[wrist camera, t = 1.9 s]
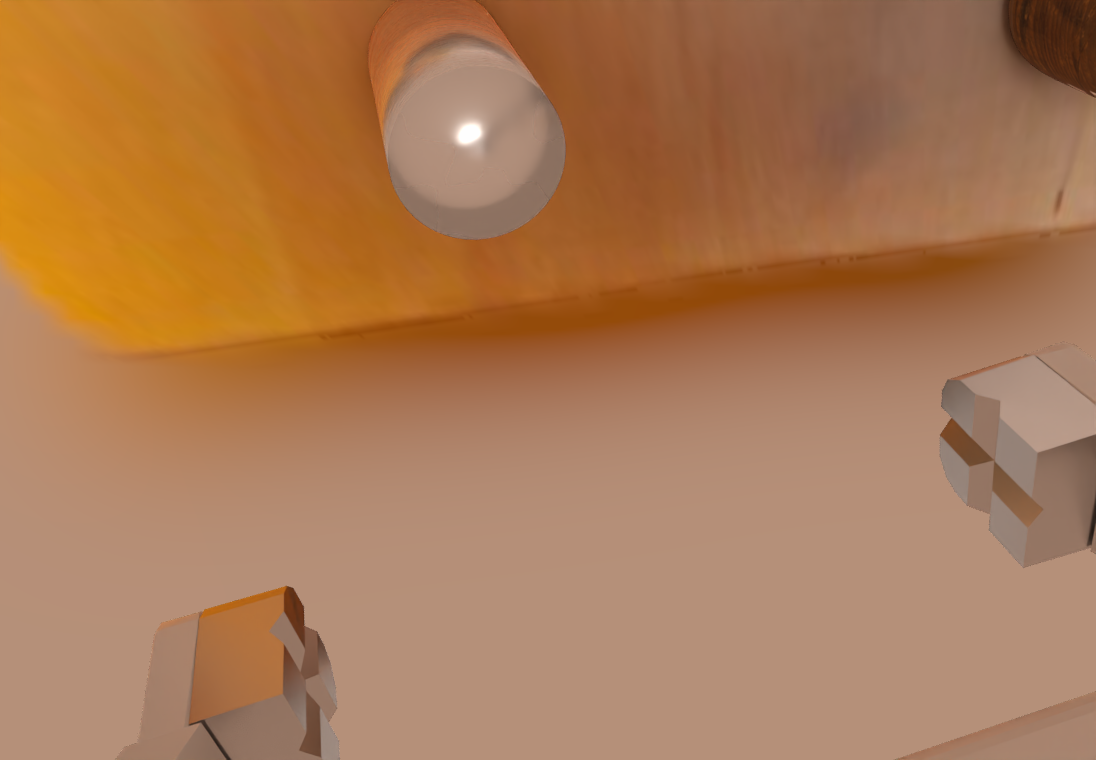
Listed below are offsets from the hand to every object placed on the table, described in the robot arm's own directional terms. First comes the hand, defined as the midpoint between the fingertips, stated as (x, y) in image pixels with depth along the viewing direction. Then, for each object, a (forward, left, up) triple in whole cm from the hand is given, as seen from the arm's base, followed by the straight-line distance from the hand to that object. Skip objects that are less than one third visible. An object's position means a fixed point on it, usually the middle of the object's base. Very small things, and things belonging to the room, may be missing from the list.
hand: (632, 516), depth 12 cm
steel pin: (0, 0, -20) cm, 20 cm away
